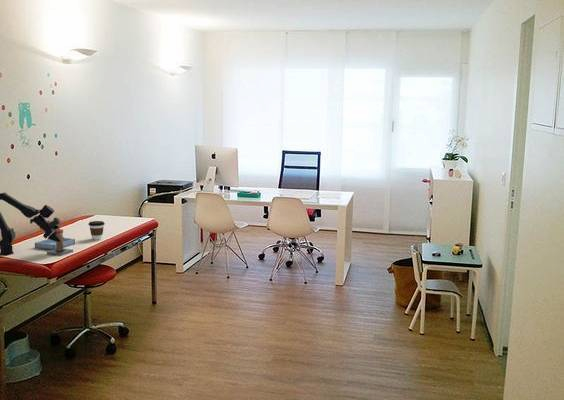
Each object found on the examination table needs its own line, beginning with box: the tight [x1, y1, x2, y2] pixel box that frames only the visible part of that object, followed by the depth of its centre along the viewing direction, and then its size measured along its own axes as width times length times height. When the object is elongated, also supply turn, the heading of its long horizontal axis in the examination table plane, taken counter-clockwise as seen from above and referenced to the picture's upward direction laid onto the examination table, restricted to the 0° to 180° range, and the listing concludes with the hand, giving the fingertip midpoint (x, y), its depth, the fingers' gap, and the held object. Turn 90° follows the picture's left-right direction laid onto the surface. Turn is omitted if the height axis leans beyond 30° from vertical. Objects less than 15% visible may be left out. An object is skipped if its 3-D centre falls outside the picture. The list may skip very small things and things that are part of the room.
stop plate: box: [46, 247, 74, 257], centre depth 347 cm, size 11×11×2 cm
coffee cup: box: [88, 220, 106, 241], centre depth 388 cm, size 11×11×12 cm
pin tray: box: [34, 237, 76, 251], centre depth 365 cm, size 20×16×4 cm
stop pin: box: [55, 228, 64, 252], centre depth 346 cm, size 5×5×15 cm
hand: (61, 240), depth 346 cm, fingers open, 8 cm apart
